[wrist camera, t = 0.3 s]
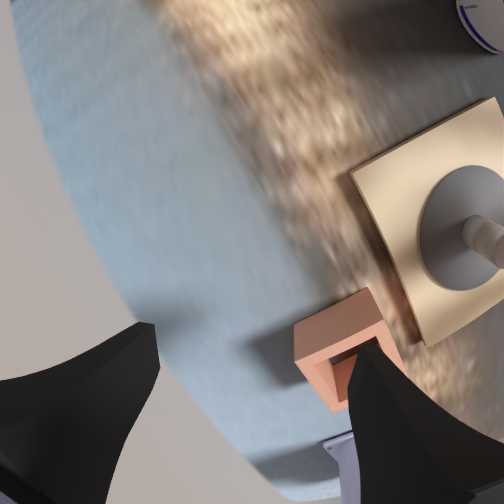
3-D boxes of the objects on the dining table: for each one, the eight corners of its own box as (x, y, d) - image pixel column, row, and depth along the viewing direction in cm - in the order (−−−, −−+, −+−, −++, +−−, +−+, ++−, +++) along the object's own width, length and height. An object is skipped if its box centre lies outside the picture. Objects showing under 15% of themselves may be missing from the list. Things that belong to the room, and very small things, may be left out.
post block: (531, 265, 17) (575, 296, 11) (422, 341, 20) (451, 393, 14) (486, 97, 14) (543, 91, 8) (348, 171, 17) (378, 185, 11)
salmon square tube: (393, 344, 20) (408, 379, 17) (327, 375, 22) (332, 413, 18) (367, 287, 19) (384, 319, 15) (293, 324, 20) (294, 361, 17)
